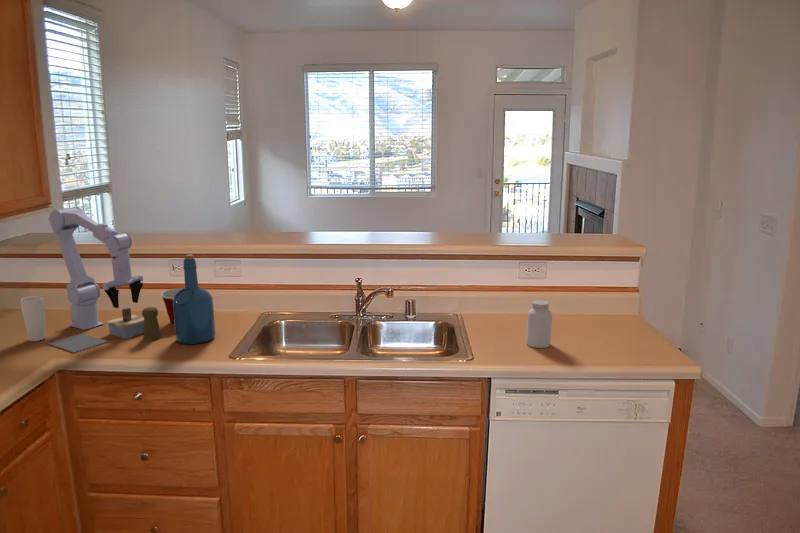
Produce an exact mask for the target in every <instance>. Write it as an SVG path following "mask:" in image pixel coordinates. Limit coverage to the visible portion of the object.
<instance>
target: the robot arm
mask: <svg viewBox="0 0 800 533" xmlns="http://www.w3.org/2000/svg"><path fill="white" fill-rule="evenodd" d="M48 221H49V224H50V226H51V227H50V228H51V230H52V231H53V234H54V236H55V239H56V241H57V244H58V247H59V250H60V252H61V255H62V258H63V260H64V264H65V266H66V269H67V272H68V274H69V278H70V281H69V282H68V284H67V285H66V287H65V288H66V290H67V298H68V300H69V302H70V303H71V306H70V309H69V310H70V318H71V323H70V324H69V327H72V328H76V329H80V330H82V331H83V330H84V331H85V330H90V329H92V328H96V327H99V326H102V325H104V324H105V323H104V322H102V321H99V314H98V306H97V305H98V304H97V302H98V301H99V298H100V296H101V288H100V286H99V285H98V284H97V283H96V279H95V278H94V277H91V276H90V275H88V274H87V272H86V269H85V265H84V263H83V261H82V257H81V255H80V251H79V249H78V246H77V244H76V241H75V239H74V236H73V235H74V233H75V231H77V229H78V228H79V227H81V228H83V229H85V230H88V231H90V232H92V235H93V237H94V238H95V239H97V240H98V241H100V242H102V243H104V244H105V246H106V248H107V250H108V252H109V256H110V257H111V263H112V264H111V265H112V274H113V280H110V281H108V282H105V283H102V284H101V285H102V290H103V291H104V292H105V294H106V295H107V297H108V298H109V300H110V303H111V304H112V306H113V307H112V308H115V309H119V307H120V304H119V294H120V290H119V289H118V288H119V287H122V286H125V285H128V287H129V289H130V293H131V294H130V295H131V301H132V303H135V304H137V303H139V298H140V293H141V291H142V287H144V284H143V283H144V277H143V275H140V274H139V275H134V276H132V269H131V268H132V266H131V259H130V250H129V249H130V248H131V247H132V244H133V242H132V237H131V236H130V234H128V233H127V232H119V231H118V230H117V229H114V228H113V227H111V226H109V225H108V224H107V223H106V222H105V223H103V222H102V223H98V222H97V221H95V220H94V219H92V218H91V217H90V216H88V215H87V214H86V213H85V210H84V209H82V208H81V207H79V206H73V207H66V208H60V209H59V208H58V209H53V210H51V212H50V214H49V217H48Z"/></svg>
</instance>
